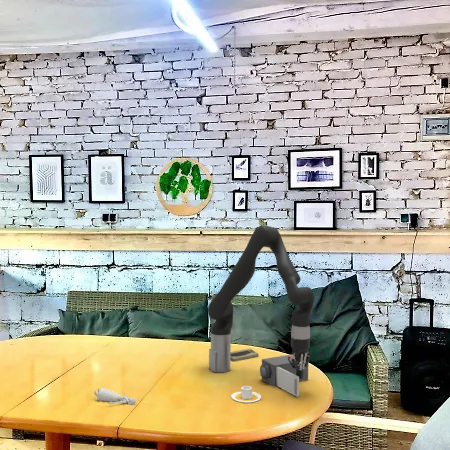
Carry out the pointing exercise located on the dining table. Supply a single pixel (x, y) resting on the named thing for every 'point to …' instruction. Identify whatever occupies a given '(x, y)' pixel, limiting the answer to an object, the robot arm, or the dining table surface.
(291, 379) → the side door
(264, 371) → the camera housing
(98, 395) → the woman figurine
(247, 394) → the candle holder
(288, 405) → the dining table surface
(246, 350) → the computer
